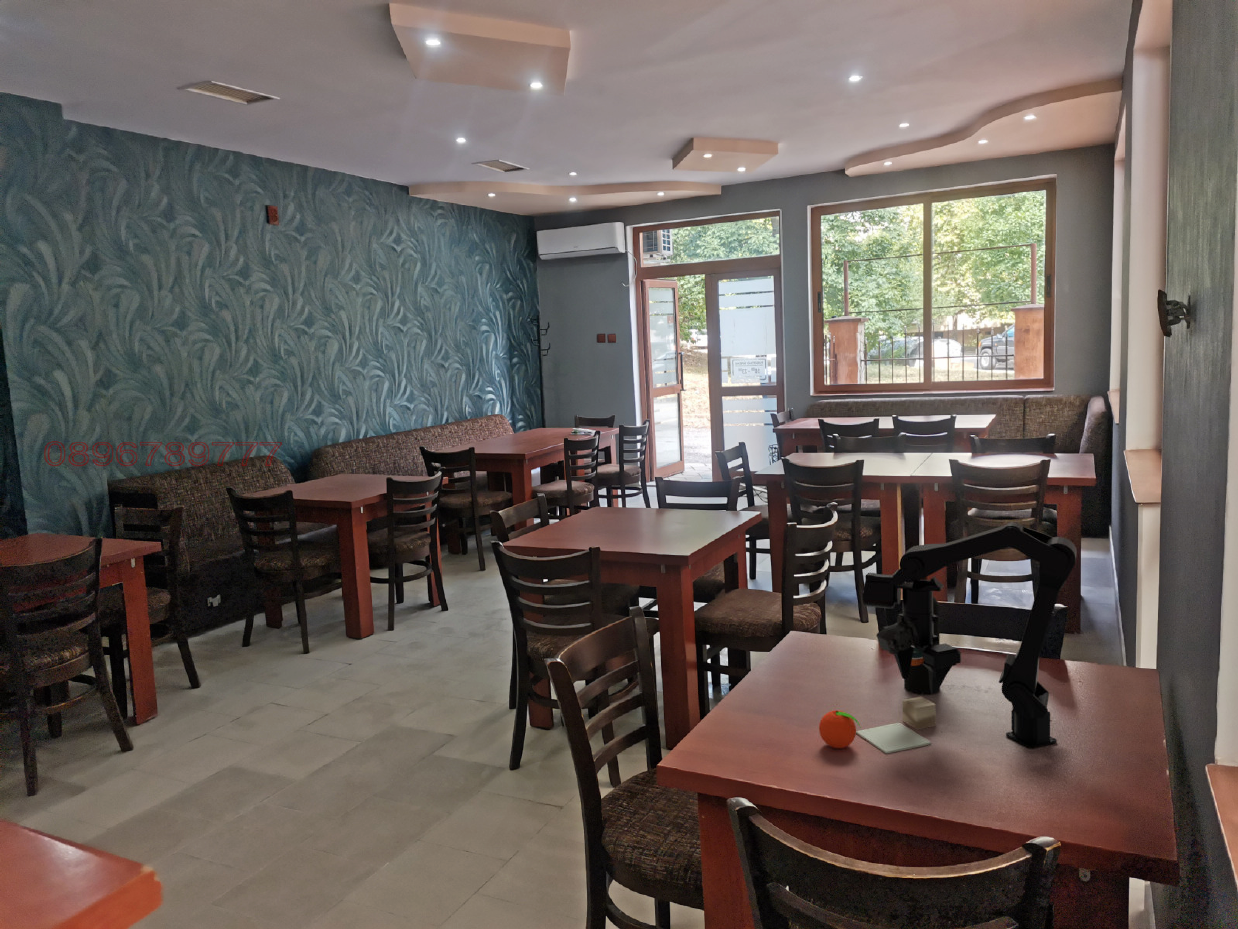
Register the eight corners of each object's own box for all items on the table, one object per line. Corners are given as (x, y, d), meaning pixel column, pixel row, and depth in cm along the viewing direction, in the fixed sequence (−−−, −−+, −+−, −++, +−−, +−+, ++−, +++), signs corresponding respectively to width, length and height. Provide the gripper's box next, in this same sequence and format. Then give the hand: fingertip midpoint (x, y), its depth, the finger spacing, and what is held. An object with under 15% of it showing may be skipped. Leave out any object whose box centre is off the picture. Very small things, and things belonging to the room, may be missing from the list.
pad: (931, 744, 167) (931, 742, 167) (886, 753, 164) (886, 751, 164) (899, 724, 177) (899, 722, 176) (856, 733, 174) (855, 731, 173)
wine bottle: (942, 695, 190) (941, 560, 187) (906, 694, 192) (904, 560, 188) (937, 682, 198) (936, 552, 194) (902, 681, 199) (900, 552, 196)
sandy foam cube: (935, 725, 175) (935, 704, 175) (916, 729, 174) (916, 708, 173) (921, 717, 180) (921, 696, 179) (902, 721, 178) (902, 700, 178)
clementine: (866, 743, 169) (865, 708, 168) (856, 758, 163) (855, 721, 162) (825, 736, 173) (824, 701, 172) (814, 750, 167) (813, 714, 166)
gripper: (856, 604, 180) (858, 677, 182) (912, 628, 163) (914, 709, 165) (902, 597, 184) (903, 669, 186) (962, 620, 166) (963, 699, 168)
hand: (919, 686), depth 176 cm, fingers open, 9 cm apart
